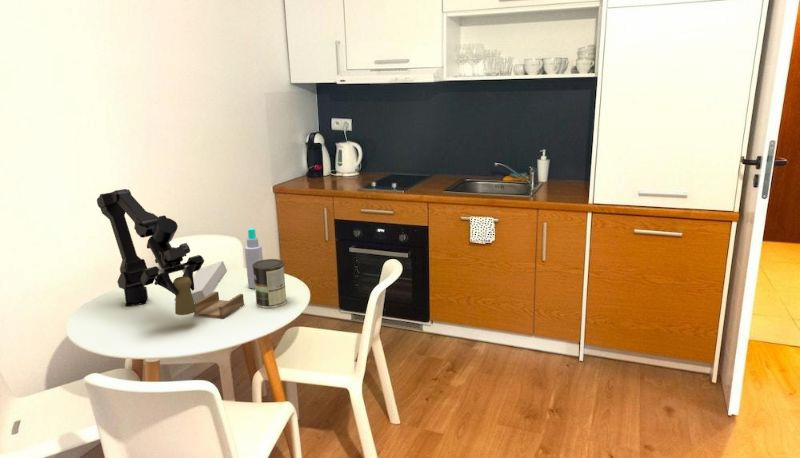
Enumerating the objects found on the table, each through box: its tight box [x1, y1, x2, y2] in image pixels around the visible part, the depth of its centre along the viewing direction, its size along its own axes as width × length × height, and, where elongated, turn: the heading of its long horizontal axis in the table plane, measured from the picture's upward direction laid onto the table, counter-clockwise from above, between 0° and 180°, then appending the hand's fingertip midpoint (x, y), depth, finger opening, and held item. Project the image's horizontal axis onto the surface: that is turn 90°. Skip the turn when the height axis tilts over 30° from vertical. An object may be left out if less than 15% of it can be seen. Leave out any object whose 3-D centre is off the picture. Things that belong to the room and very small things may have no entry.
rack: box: [193, 291, 245, 320], centre depth 187 cm, size 11×12×4 cm
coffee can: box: [252, 258, 288, 309], centre depth 191 cm, size 10×10×14 cm
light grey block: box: [174, 260, 228, 303], centre depth 211 cm, size 34×5×10 cm
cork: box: [172, 276, 196, 316], centre depth 173 cm, size 6×6×11 cm
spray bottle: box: [244, 227, 264, 290], centre depth 206 cm, size 6×6×22 cm
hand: (185, 292), depth 172 cm, fingers closed on cork, 5 cm apart
